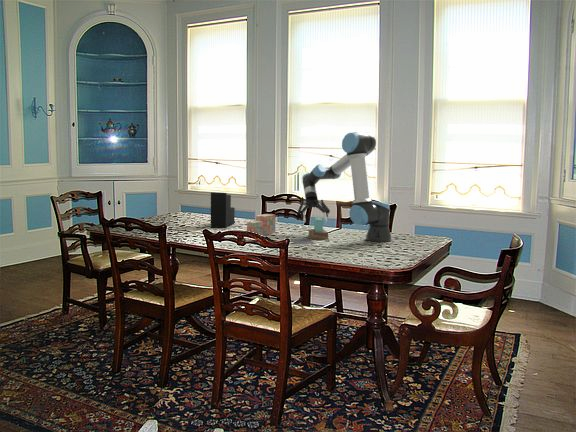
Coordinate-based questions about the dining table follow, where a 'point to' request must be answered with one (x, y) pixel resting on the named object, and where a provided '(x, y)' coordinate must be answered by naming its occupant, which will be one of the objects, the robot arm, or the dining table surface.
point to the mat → (302, 241)
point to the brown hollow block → (318, 235)
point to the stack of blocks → (262, 224)
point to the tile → (318, 225)
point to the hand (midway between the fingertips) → (315, 221)
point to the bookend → (221, 210)
